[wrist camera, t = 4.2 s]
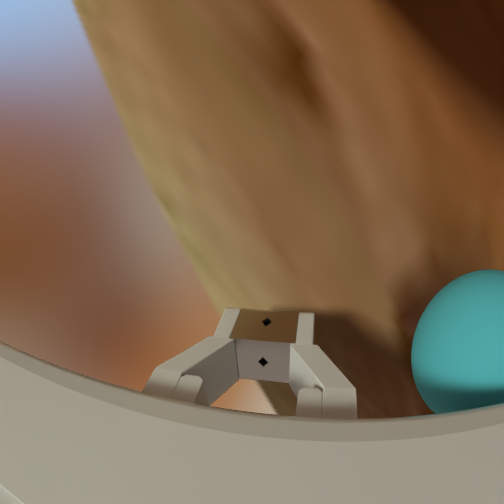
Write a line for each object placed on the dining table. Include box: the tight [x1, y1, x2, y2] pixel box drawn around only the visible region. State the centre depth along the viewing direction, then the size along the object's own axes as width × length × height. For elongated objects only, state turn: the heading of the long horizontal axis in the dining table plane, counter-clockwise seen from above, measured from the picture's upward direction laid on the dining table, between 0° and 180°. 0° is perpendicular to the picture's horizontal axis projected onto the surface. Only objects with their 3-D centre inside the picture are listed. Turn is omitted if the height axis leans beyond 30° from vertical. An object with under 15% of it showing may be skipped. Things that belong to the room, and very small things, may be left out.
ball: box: [411, 269, 504, 414], centre depth 8 cm, size 6×6×6 cm
